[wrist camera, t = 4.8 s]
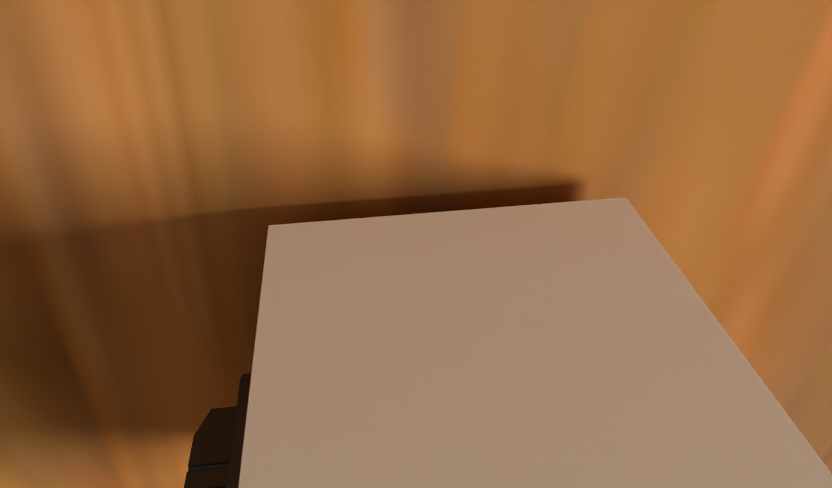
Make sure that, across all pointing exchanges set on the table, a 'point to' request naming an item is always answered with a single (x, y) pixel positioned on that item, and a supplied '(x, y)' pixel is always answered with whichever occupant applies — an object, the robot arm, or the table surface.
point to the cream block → (502, 360)
